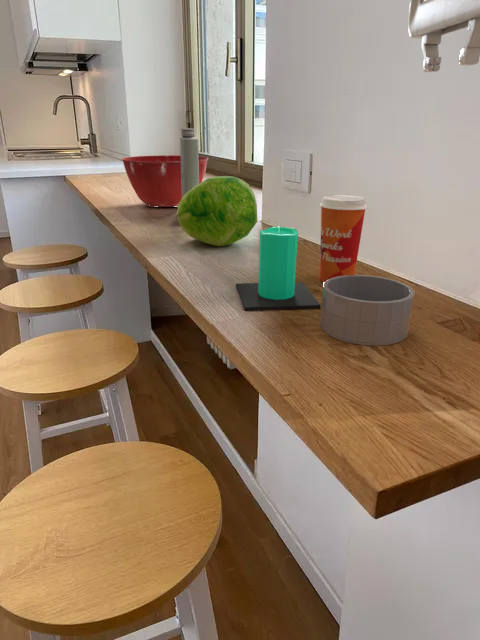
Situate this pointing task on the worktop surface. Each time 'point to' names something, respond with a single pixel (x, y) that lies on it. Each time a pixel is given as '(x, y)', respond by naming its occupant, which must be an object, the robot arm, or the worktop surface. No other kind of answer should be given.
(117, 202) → the worktop surface
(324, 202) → the coffee cup
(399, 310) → the tin
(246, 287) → the coaster
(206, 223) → the lettuce
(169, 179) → the mixing bowl
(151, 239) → the worktop surface
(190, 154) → the flask
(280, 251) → the candle
